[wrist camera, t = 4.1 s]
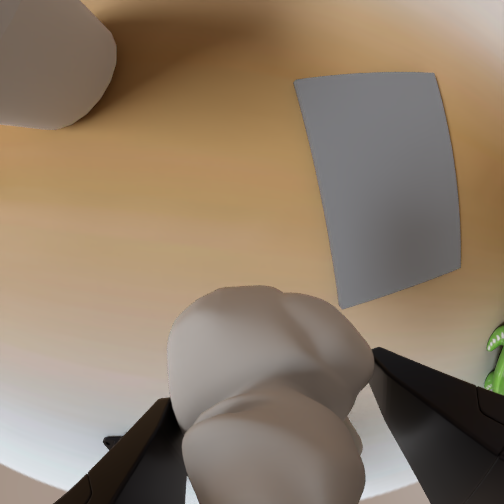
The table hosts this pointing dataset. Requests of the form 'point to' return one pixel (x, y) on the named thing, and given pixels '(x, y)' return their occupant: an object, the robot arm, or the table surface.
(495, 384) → the turtle holder
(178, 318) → the off-white lumpy chunk
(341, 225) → the grey mat
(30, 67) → the can
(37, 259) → the table surface
